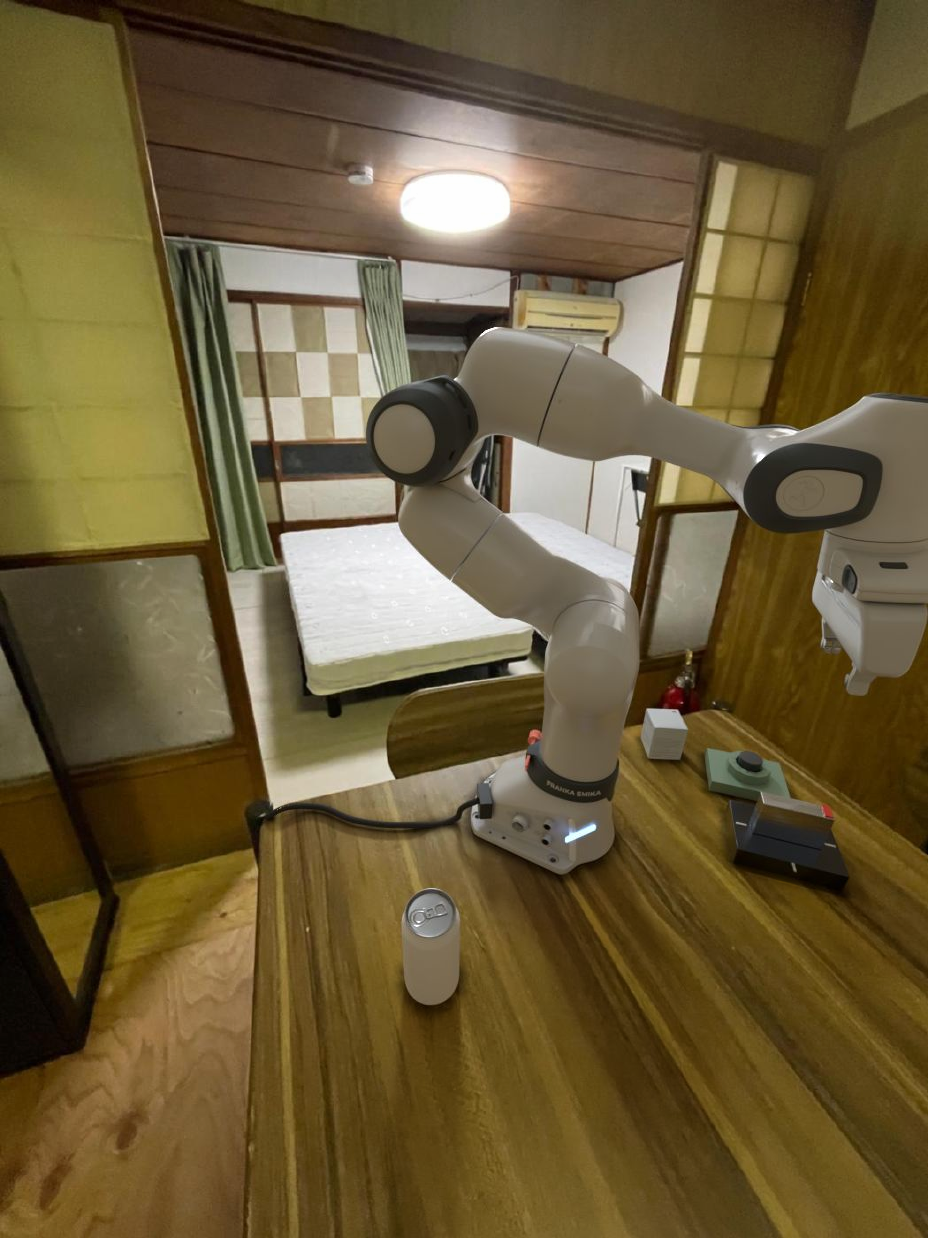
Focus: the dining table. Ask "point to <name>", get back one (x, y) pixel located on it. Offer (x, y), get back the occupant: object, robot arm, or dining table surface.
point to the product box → (663, 734)
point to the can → (431, 946)
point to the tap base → (783, 852)
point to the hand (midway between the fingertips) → (841, 670)
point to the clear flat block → (792, 820)
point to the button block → (743, 776)
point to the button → (750, 761)
